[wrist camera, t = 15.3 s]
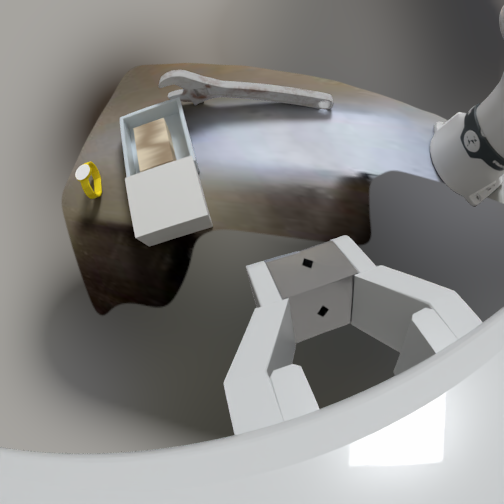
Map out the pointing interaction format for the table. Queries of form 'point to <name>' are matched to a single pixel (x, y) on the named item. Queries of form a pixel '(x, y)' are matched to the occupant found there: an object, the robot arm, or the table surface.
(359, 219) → the table surface
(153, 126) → the block
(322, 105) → the wrench
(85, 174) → the watch
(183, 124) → the tray
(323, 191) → the table surface
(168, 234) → the riser
